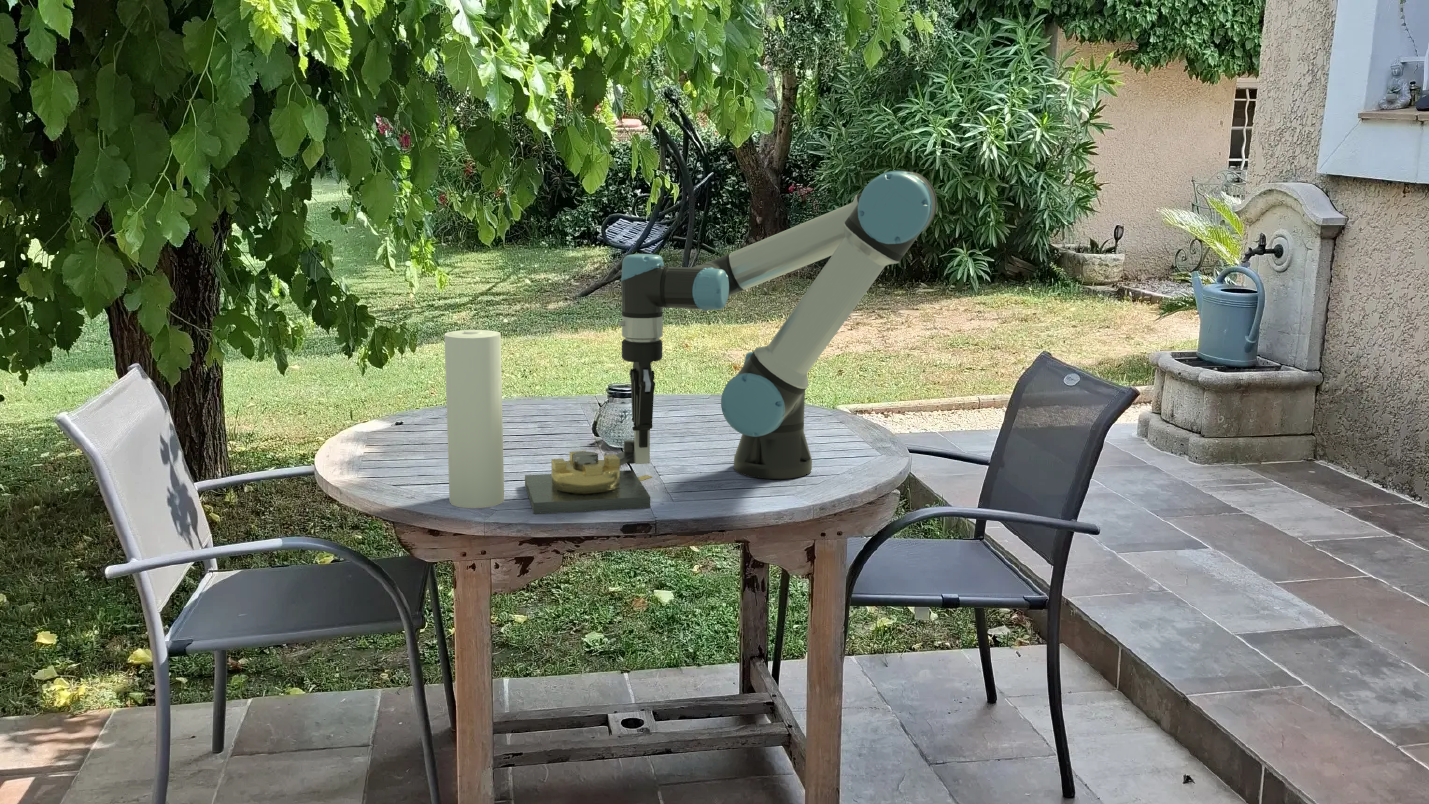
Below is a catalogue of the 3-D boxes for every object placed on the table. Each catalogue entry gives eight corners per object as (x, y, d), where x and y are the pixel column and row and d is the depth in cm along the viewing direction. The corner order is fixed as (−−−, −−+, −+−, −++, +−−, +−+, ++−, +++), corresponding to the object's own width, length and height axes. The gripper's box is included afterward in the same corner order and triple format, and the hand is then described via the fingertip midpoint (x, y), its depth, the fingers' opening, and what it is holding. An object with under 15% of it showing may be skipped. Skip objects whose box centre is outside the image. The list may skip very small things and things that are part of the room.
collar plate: (650, 475, 232) (651, 465, 232) (672, 506, 212) (672, 495, 212) (523, 481, 227) (523, 471, 226) (533, 514, 207) (533, 502, 206)
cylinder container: (507, 493, 219) (504, 327, 213) (500, 508, 210) (496, 335, 204) (454, 492, 219) (449, 326, 213) (445, 508, 209) (439, 334, 203)
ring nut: (606, 458, 235) (605, 430, 234) (661, 465, 230) (661, 437, 229) (538, 487, 214) (538, 458, 213) (598, 496, 209) (597, 466, 208)
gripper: (616, 334, 231) (616, 455, 235) (627, 344, 218) (627, 472, 223) (655, 333, 232) (655, 453, 237) (669, 343, 220) (668, 470, 225)
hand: (642, 462), depth 230 cm, fingers closed
